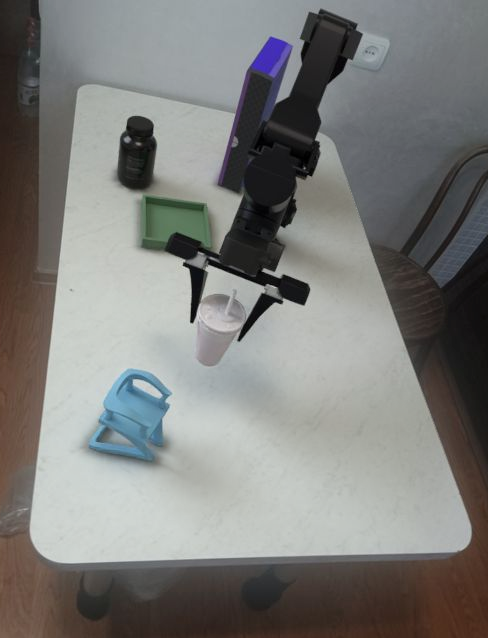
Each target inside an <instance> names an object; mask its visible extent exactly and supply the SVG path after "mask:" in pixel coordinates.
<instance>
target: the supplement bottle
mask: <svg viewBox="0 0 488 638" xmlns="http://www.w3.org/2000/svg"><path fill="white" fill-rule="evenodd" d="M154 129H155V125H154V122H153V121H152V120H151V119H150V118H148V117H146V116H142V115H132V116H129V117H128V118H127V120H126V126H125V130H124V131H123V132H122V133H121V134H120V136H119V144H118V156H117V157H118V159H117V170H116V171H117V172H116V176H117V179H118V181H119V182H120V183H121V184H122V185H123V186H125V187H128V188H129V189H134V190H141V189H146V188H147V187H149V186H150V185H151V184H152V183H153V180H154V179H153V178H154V172H155V164H156V157H157V149H158V142H157V139H156V137H155V136H154Z"/></svg>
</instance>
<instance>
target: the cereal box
mask: <svg viewBox="0 0 488 638" xmlns="http://www.w3.org/2000/svg"><path fill="white" fill-rule="evenodd" d="M293 48H294V45H293V44H291V43H289V42H287V41H285V40H283V39H280V38H277V37H274V36H269V37H268V39H267V40H266V42H265V43H264V45H263V46H262V48H261V49H260V51H259V52H258V53H257V55H256V56H255V58H254V59H253V61H252V62H251V64H250V65H249V67H248V68H247V70H246V73H245V76H244V80H243V84H242V87H241V92H240V96H239V100H238V103H237V107H236V111H235V115H234V118H233V123H232V126H231V130H230V134H229V138H228V141H227V146H226V149H225V153H224V157H223V160H222V161H223V162H222V165H221V168H220V169H221V170H220V173H219V176H218V179H217V180H218V181H217V184H216V185H217V186H220V187H222V188H224V189H227V190H230V191H232V192H234V193H237V194H240V192H241V190H242V188H243V187H244V173H245V169H246V167H247V165H248V164H249V163H250V162H251V160H252V159H250V158H248V151H249V148H250V146H251V144H252V142H253V140H254V138H255V136H256V133H257V131H258V129H259V127H260V125H261V123H262V121H263V119H264V120H267V121H268V119H269V117H270V115H271V113H272V110H273V108H274V106H275V104H276V103H277V100H278V99H277V98H278V95H279V93H280V89H281V86H282V83H283V80H284V76H285V73H286V71H287V67H288V63H289V61H290V57H291V54H292V51H293ZM257 150H258V149H257Z"/></svg>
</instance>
